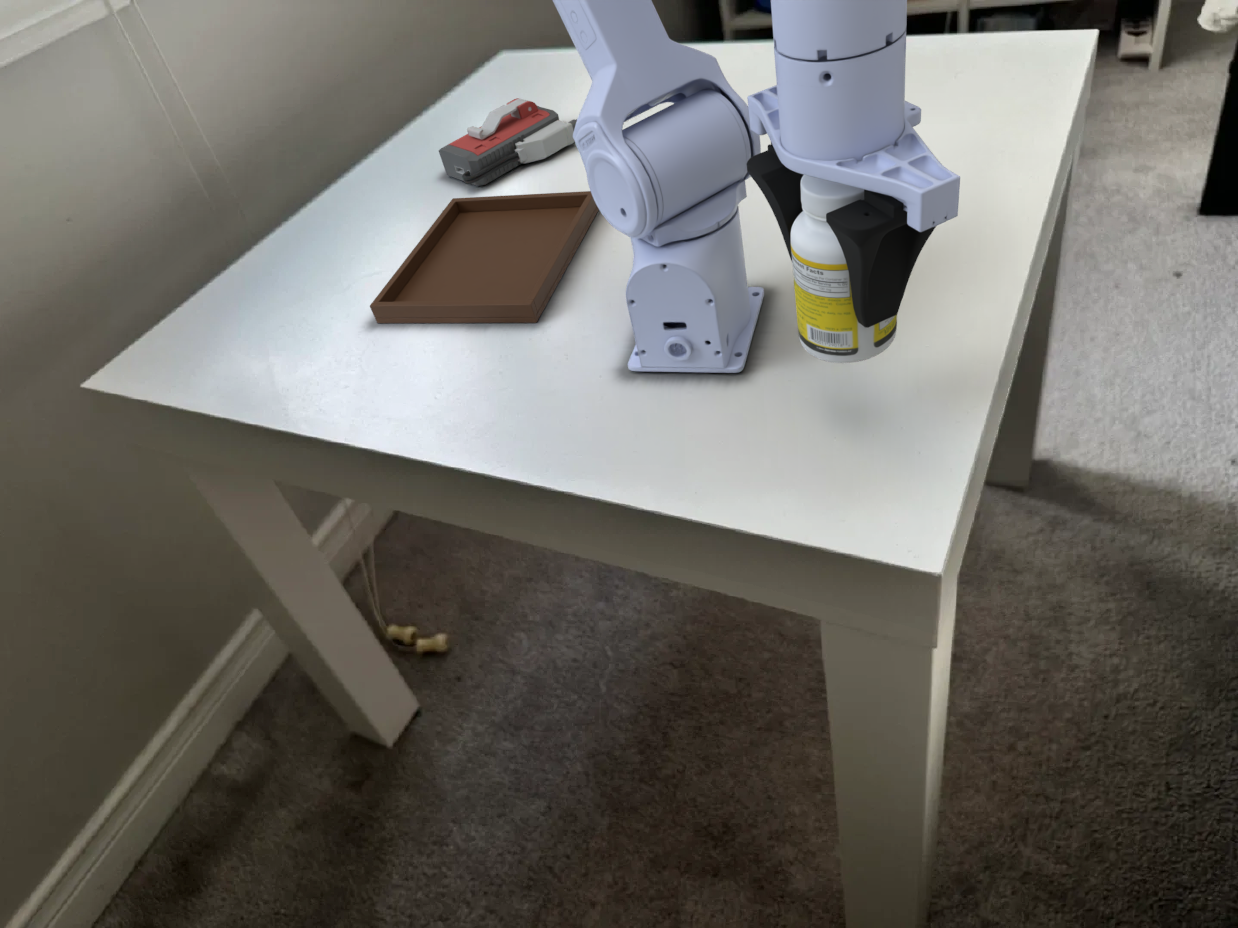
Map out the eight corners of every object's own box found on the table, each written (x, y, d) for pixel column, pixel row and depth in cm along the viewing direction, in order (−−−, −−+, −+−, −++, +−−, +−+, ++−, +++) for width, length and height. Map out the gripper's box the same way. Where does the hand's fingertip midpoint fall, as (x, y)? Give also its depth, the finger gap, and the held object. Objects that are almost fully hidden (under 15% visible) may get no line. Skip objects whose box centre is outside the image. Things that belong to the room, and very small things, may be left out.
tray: (536, 322, 69) (530, 304, 68) (377, 323, 73) (369, 305, 72) (599, 207, 80) (595, 190, 79) (458, 214, 85) (452, 197, 84)
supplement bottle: (874, 299, 53) (874, 140, 46) (912, 351, 49) (918, 186, 42) (785, 323, 53) (773, 167, 46) (815, 376, 49) (806, 215, 43)
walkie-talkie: (484, 199, 86) (633, 112, 94) (470, 155, 83) (625, 69, 91) (434, 180, 91) (578, 99, 99) (419, 138, 88) (569, 58, 96)
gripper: (1032, 45, 35) (999, 326, 45) (823, -23, 46) (832, 217, 55) (880, 105, 34) (879, 382, 43) (701, 22, 45) (731, 259, 54)
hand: (845, 293), depth 49 cm, fingers closed on supplement bottle, 5 cm apart
